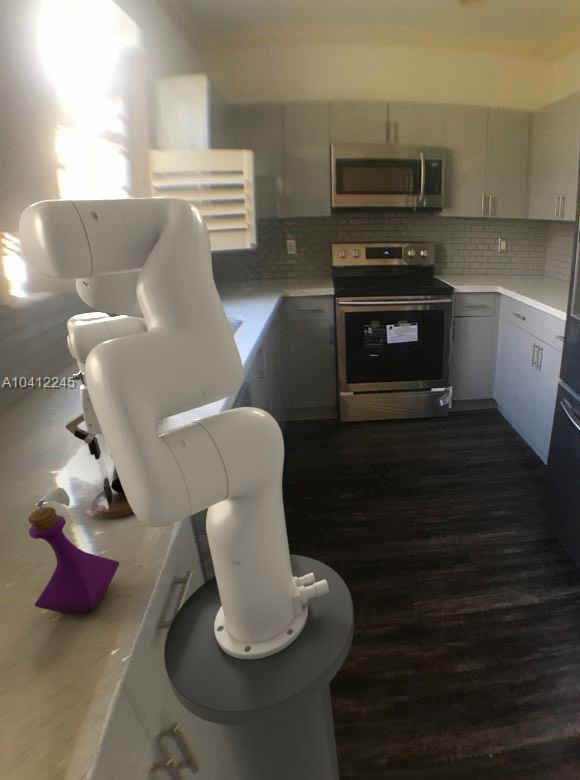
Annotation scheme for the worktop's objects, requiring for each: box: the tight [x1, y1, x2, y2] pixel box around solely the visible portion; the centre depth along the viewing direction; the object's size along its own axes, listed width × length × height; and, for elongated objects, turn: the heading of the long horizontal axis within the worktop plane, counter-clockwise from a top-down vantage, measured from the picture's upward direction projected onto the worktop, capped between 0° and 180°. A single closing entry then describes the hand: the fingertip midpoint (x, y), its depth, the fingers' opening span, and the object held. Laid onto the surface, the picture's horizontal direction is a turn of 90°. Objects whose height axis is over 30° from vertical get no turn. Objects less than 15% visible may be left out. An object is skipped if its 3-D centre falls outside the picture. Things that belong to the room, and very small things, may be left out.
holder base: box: [92, 477, 135, 519], centre depth 85 cm, size 10×10×5 cm
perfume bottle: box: [27, 486, 120, 614], centre depth 61 cm, size 8×8×18 cm
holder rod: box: [109, 453, 124, 492], centre depth 92 cm, size 16×5×3 cm, turn 26°
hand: (124, 451), depth 97 cm, fingers open, 9 cm apart
